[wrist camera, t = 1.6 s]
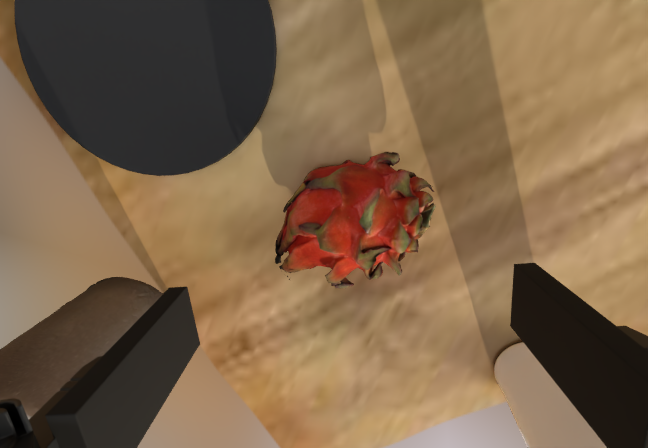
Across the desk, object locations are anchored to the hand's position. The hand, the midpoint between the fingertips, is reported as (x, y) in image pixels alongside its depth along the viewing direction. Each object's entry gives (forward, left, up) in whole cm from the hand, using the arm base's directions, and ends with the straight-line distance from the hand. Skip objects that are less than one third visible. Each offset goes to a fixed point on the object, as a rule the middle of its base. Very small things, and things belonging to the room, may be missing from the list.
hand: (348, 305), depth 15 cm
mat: (+13, -13, -14) cm, 23 cm away
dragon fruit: (0, 0, -14) cm, 14 cm away
